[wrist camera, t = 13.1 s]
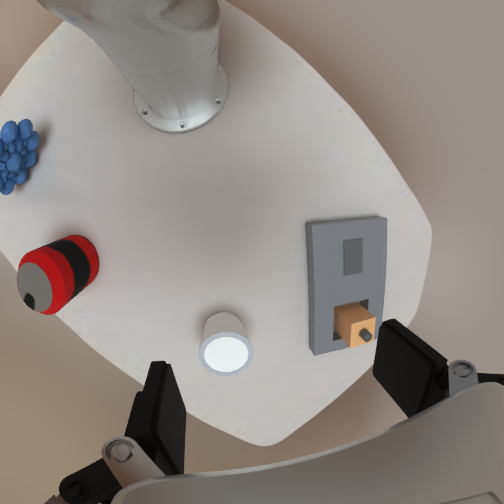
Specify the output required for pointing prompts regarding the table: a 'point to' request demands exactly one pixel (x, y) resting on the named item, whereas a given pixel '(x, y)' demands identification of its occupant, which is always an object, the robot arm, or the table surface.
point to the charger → (354, 324)
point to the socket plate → (344, 274)
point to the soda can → (56, 273)
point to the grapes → (16, 153)
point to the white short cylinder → (225, 345)
